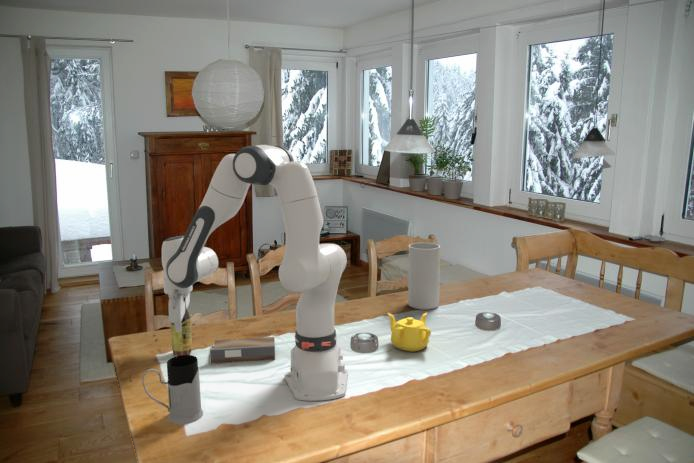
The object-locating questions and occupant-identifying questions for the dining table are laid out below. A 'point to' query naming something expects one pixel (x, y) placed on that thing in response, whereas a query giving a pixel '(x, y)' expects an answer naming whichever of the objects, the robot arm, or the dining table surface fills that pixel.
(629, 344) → the dining table surface
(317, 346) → the robot arm
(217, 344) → the book
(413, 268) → the cylinder vase
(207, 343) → the dining table surface
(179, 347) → the sauce bottle
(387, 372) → the dining table surface
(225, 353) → the price rail
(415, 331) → the teapot
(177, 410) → the grey mug
